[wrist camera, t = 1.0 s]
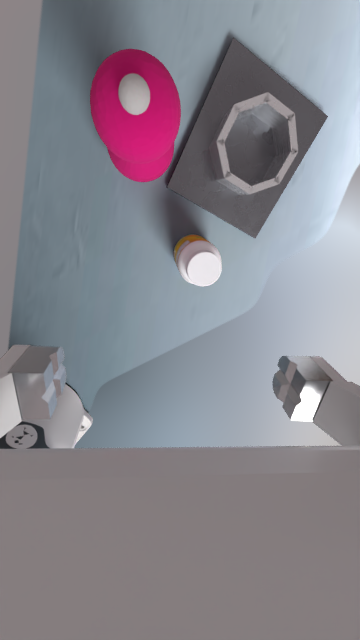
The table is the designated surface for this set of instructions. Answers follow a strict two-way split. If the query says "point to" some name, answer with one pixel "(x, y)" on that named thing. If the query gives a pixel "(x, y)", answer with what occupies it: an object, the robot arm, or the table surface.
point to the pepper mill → (136, 113)
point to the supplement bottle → (197, 260)
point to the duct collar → (245, 142)
